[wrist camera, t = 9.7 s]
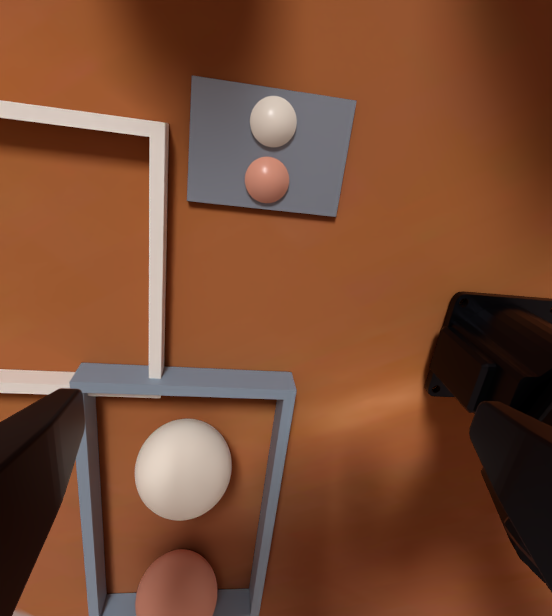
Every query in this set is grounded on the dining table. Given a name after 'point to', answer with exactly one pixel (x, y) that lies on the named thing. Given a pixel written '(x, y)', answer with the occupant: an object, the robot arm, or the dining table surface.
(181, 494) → the ball cream
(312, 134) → the card
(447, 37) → the dining table surface
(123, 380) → the frame
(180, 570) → the ball terracotta
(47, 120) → the frame
